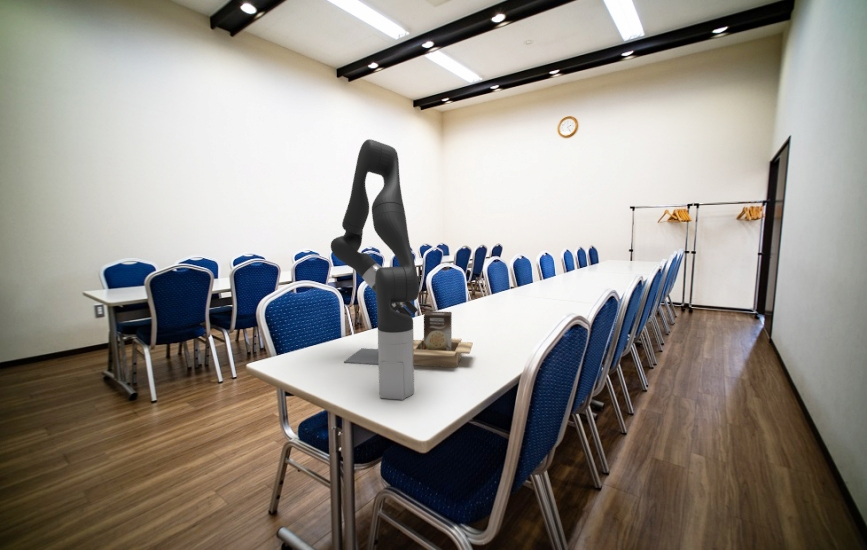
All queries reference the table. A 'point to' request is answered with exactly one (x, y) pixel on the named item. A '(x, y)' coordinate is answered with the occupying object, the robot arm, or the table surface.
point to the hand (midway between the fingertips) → (412, 314)
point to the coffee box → (437, 330)
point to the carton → (440, 354)
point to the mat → (364, 357)
